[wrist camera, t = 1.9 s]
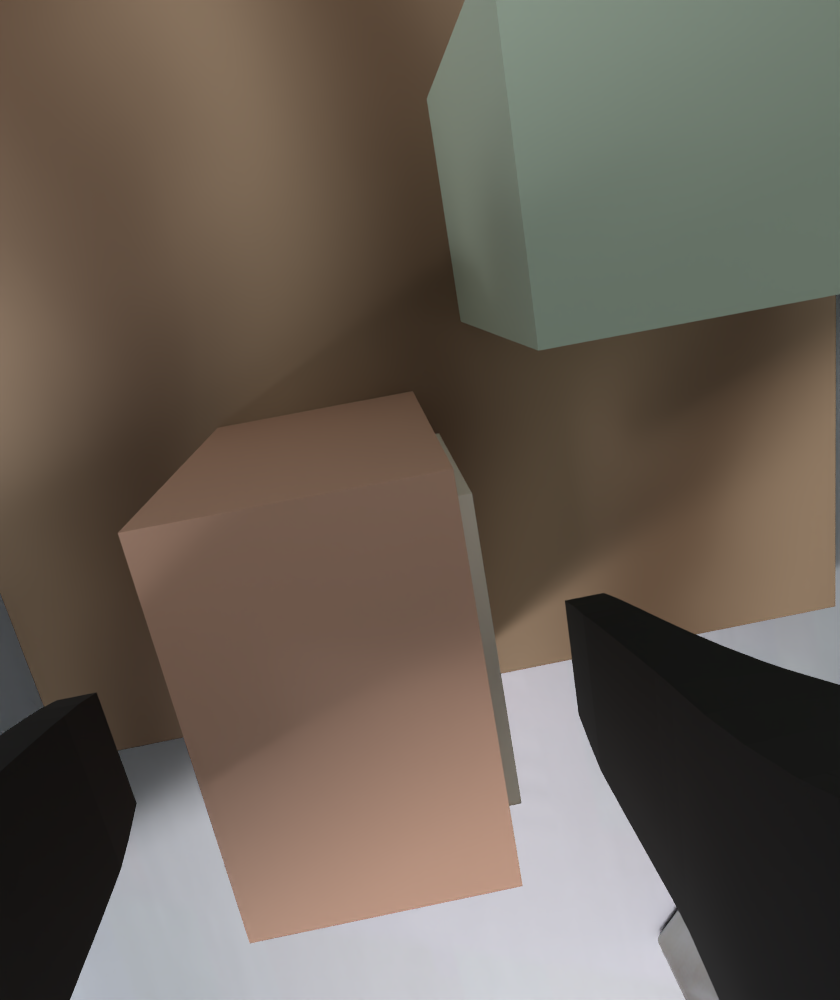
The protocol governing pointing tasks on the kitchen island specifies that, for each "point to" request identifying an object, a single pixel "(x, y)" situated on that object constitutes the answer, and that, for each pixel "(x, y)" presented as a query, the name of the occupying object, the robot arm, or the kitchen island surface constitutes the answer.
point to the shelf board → (344, 340)
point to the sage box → (637, 162)
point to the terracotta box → (333, 664)
